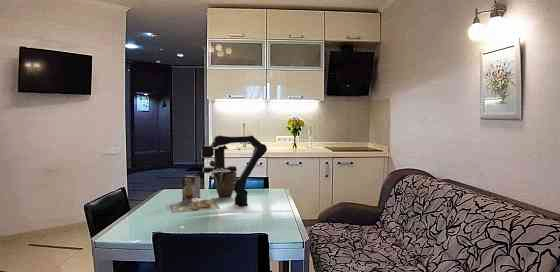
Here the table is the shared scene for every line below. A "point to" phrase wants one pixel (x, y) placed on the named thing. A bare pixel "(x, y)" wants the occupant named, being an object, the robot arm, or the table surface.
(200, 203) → the t block
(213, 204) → the board
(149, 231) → the table surface
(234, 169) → the robot arm
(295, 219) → the table surface
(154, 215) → the table surface
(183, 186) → the coffee box
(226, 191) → the plant pot
